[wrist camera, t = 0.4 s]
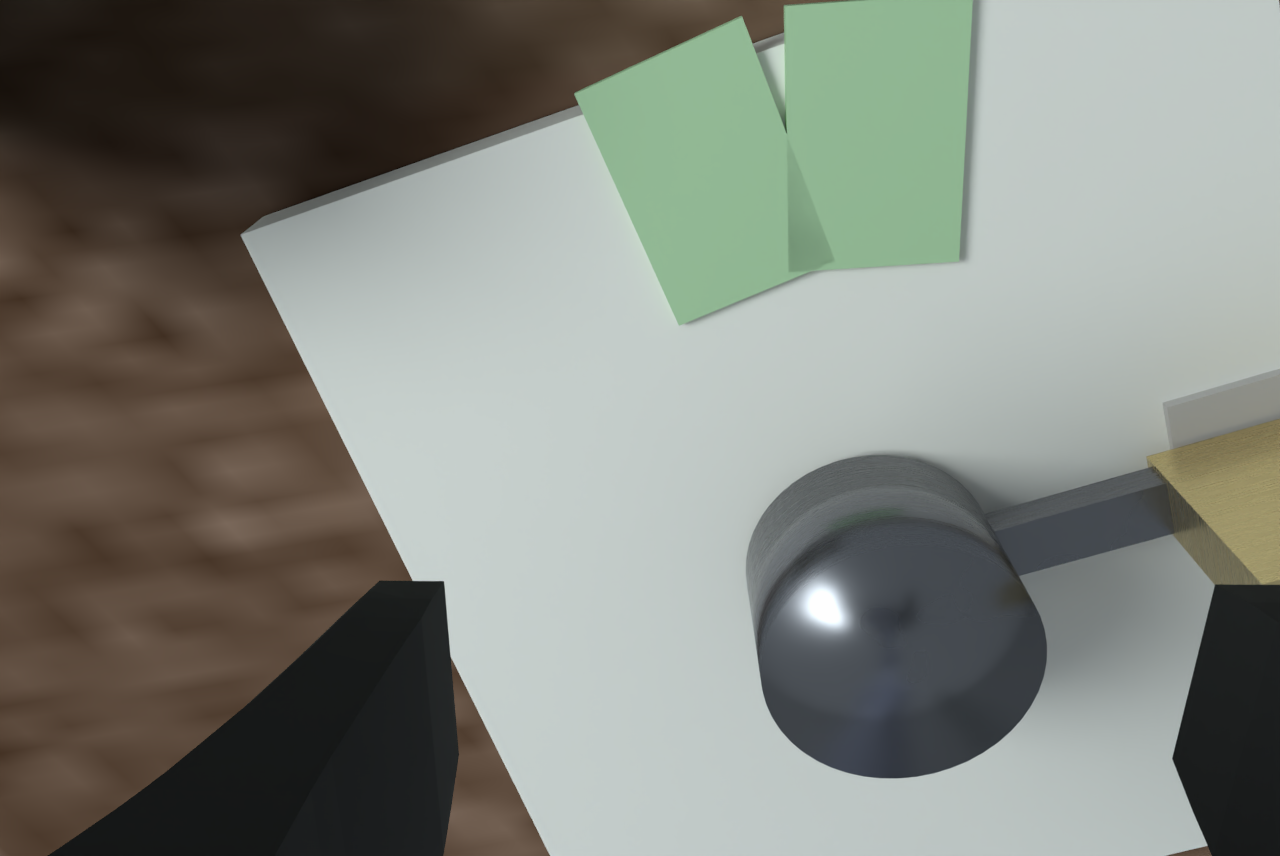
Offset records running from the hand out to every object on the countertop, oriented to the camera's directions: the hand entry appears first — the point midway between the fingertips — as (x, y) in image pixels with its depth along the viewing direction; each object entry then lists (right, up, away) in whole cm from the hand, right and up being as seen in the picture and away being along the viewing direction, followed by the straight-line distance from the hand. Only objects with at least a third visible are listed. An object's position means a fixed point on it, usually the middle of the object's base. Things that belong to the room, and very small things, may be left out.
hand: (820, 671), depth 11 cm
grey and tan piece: (+6, +1, +9) cm, 11 cm away
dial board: (+2, 0, +11) cm, 11 cm away
